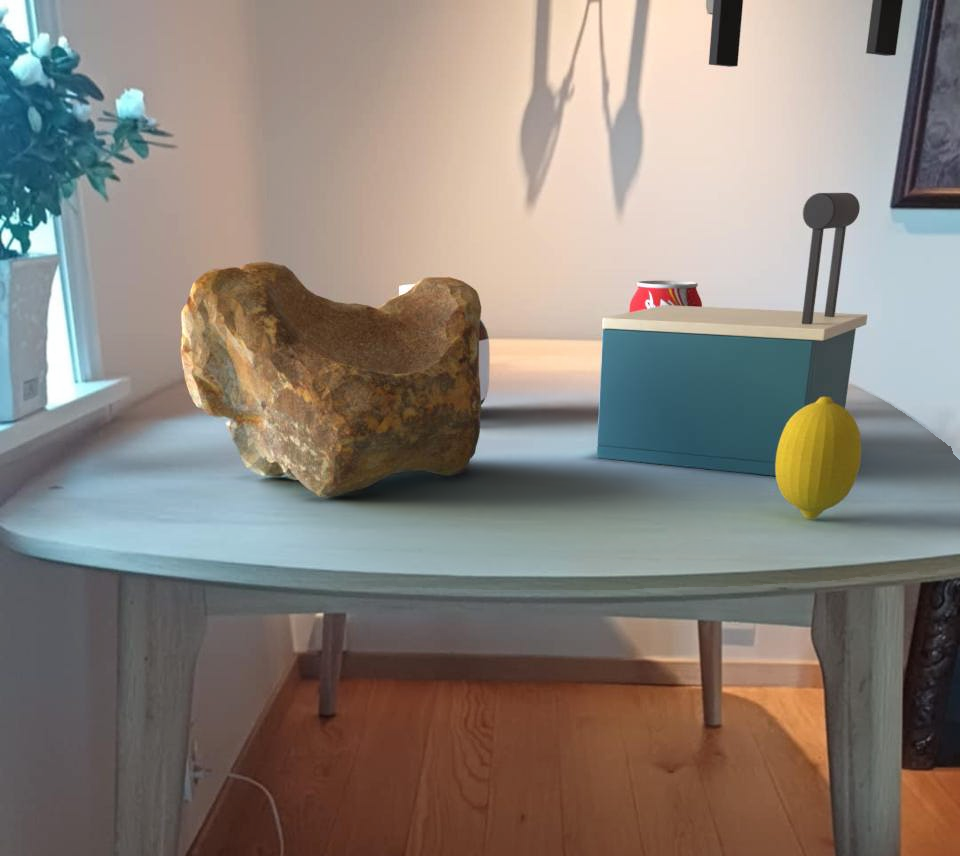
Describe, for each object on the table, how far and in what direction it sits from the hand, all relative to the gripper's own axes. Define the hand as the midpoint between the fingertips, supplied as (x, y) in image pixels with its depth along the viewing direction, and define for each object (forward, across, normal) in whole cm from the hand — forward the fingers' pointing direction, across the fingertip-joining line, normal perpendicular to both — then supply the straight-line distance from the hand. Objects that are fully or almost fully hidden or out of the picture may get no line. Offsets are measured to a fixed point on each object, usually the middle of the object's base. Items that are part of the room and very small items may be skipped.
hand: (798, 60), depth 93 cm
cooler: (+28, -3, -1) cm, 28 cm away
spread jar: (+28, -33, -7) cm, 44 cm away
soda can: (+28, -20, +11) cm, 36 cm away
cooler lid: (+18, -2, -1) cm, 18 cm away
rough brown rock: (+28, -15, -32) cm, 45 cm away
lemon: (+29, +16, -16) cm, 37 cm away
